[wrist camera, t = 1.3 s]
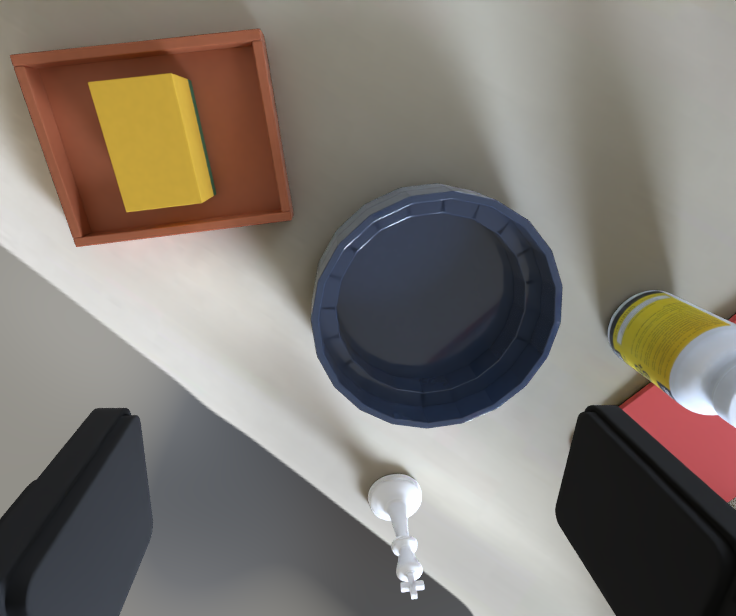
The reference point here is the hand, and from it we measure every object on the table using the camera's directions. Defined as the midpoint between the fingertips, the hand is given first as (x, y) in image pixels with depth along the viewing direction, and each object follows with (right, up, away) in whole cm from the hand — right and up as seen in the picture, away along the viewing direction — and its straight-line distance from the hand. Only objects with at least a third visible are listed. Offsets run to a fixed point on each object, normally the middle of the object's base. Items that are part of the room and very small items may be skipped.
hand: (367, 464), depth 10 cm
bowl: (+4, +4, +26) cm, 27 cm away
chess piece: (+2, -14, +33) cm, 36 cm away
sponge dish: (-13, +14, +21) cm, 28 cm away
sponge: (-13, +14, +20) cm, 28 cm away
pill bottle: (+23, +2, +29) cm, 37 cm away
